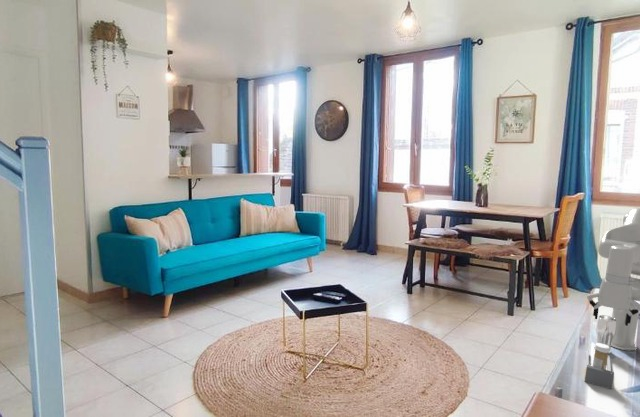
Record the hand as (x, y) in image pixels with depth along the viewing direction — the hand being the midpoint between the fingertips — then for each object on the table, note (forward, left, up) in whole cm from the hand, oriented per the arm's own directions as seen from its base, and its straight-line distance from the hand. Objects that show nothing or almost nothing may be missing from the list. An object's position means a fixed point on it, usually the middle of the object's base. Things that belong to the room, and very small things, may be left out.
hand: (610, 321), depth 163 cm
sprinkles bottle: (+3, -2, -23) cm, 23 cm away
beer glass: (-26, +1, -23) cm, 34 cm away
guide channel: (-5, -1, -23) cm, 23 cm away
